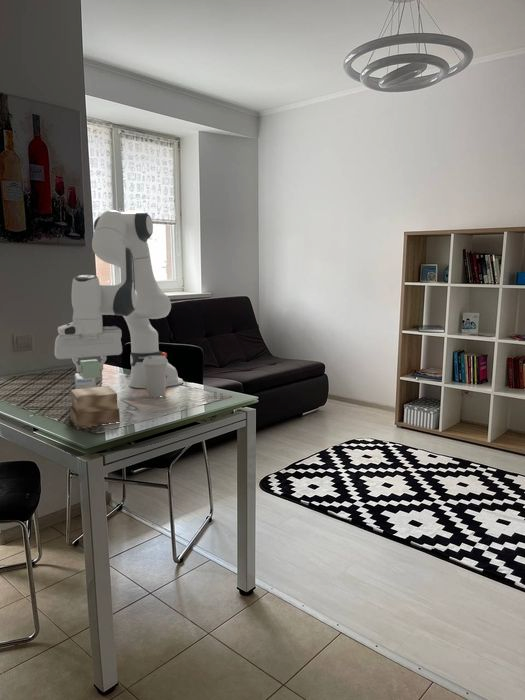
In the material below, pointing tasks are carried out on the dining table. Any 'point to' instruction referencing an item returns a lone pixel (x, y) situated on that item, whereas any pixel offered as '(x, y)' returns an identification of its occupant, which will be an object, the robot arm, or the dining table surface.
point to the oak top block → (94, 399)
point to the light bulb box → (84, 382)
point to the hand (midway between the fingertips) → (90, 370)
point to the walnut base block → (94, 417)
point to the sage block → (90, 368)
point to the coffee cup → (155, 375)
